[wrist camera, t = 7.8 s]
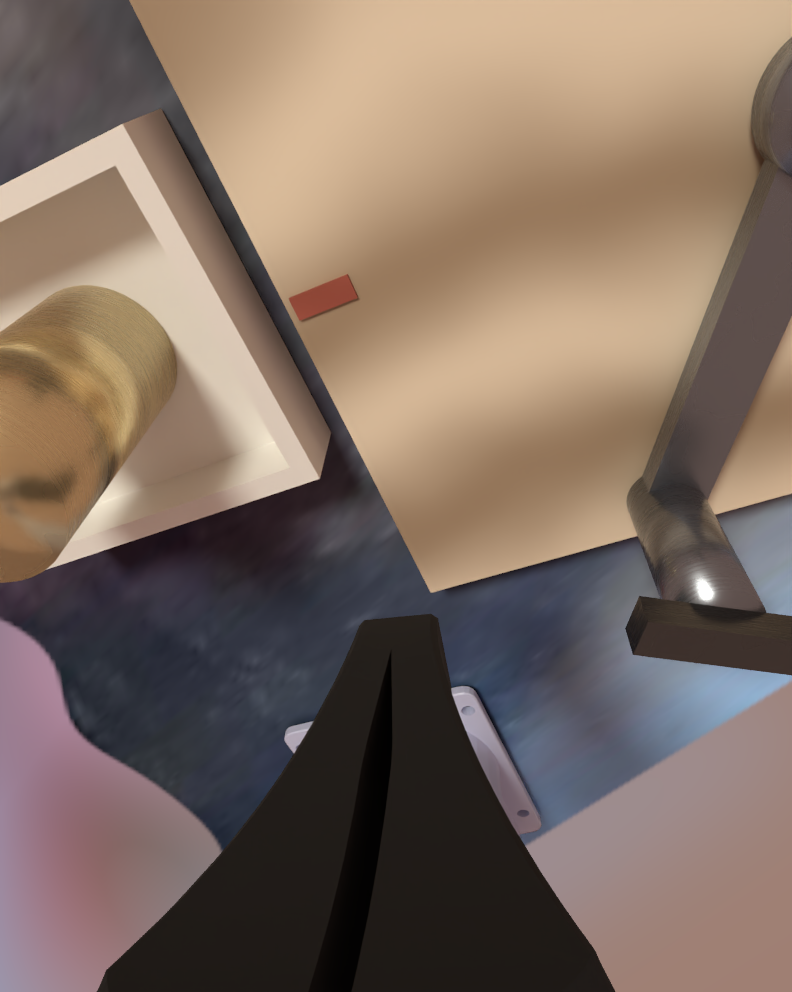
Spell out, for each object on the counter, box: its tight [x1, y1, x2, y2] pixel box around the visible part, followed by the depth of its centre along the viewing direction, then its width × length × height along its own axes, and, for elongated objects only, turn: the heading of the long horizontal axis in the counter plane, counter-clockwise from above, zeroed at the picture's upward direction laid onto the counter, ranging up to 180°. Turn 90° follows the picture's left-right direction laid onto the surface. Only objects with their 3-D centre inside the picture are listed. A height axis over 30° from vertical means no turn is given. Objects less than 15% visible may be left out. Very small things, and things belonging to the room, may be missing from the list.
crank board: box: [129, 0, 792, 593], centre depth 17 cm, size 18×16×1 cm
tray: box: [0, 109, 331, 569], centre depth 19 cm, size 9×9×2 cm
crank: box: [625, 37, 792, 675], centre depth 15 cm, size 12×4×6 cm, turn 173°
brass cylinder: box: [0, 285, 177, 583], centre depth 17 cm, size 4×4×7 cm
